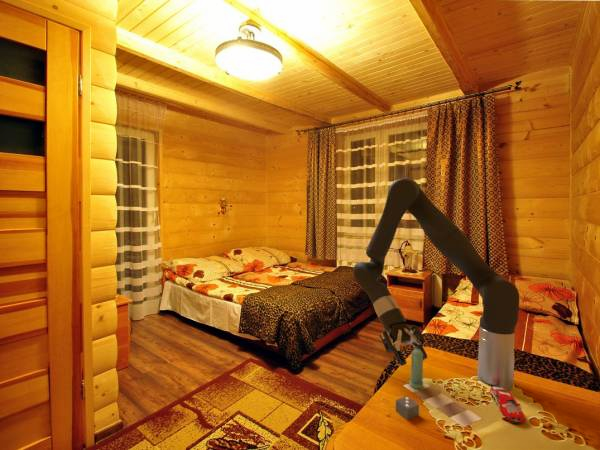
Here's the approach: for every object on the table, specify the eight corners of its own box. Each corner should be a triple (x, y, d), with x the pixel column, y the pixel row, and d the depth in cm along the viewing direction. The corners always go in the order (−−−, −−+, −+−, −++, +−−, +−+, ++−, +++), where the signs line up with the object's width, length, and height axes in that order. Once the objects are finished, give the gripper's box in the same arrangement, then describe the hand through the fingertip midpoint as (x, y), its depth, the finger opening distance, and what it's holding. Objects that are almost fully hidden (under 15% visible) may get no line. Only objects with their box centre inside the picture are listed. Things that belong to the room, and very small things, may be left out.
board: (420, 383, 96) (420, 379, 96) (483, 422, 78) (483, 418, 78) (401, 389, 92) (401, 385, 92) (462, 432, 74) (462, 427, 74)
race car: (528, 428, 77) (528, 413, 76) (503, 424, 78) (503, 408, 78) (508, 397, 89) (509, 384, 89) (487, 394, 91) (487, 381, 91)
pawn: (416, 381, 95) (417, 345, 94) (426, 387, 91) (427, 350, 91) (406, 384, 93) (407, 348, 93) (416, 390, 90) (417, 353, 89)
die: (406, 410, 82) (407, 394, 82) (418, 419, 79) (419, 403, 79) (395, 415, 81) (395, 398, 80) (407, 424, 77) (407, 407, 77)
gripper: (377, 310, 97) (403, 362, 87) (411, 304, 103) (439, 352, 93) (366, 321, 102) (390, 371, 92) (399, 315, 108) (424, 361, 98)
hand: (414, 361), depth 93 cm, fingers open, 8 cm apart
